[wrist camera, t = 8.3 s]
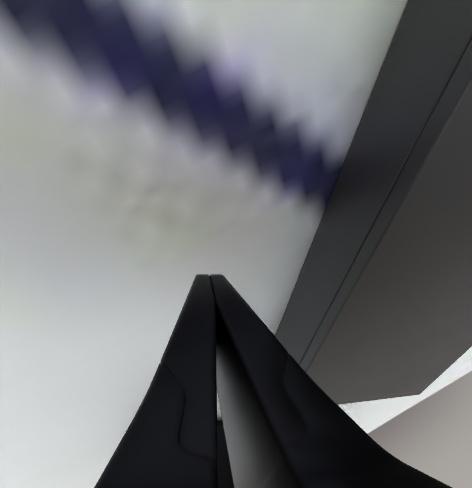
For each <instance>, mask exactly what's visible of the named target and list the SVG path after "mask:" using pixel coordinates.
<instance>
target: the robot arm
mask: <svg viewBox="0 0 472 488" xmlns="http://www.w3.org/2000/svg"><path fill="white" fill-rule="evenodd" d="M217 393H218V398H219V404H220V409H221V415H222V421H223V422H217ZM94 488H452V487H450V486H447V485H446V484H444V483H442V482H440V481H438V480H436V479H434V478H432V477H430V476H428V475H426V474H424V473H423V472H421V471H418V470H417V469H414V468H413V467H411V466H409V465H407V464H405V463H403V462H402V461H400V460H399V459H397V458H395V457H394V456H392V455H391V454H390V453H388V452H387V451H386V450H384V449H383V448H382V447H381V446H380V445H378V444H377V443H376V442H375V441H374V440H373V439H372V438H371V437H370V436H368V434H367V433H366V432H365V431H363V430H362V429H361V428H360V427H359V426H358V425H357V424H356V423H355V422H354V421H353V420H352V419H351V418H350V417H349V416H348V415H347V414H346V413H345V412H344V411H343V410H342V409H341V408H340V407H339V406H338V405H337V404H336V403H335V402H334V401H333V400H332V399H331V398H330V397H329V396H328V395H327V394H326V393H325V392H324V391H323V390H322V389H321V388H320V387H319V386H318V385H317V384H316V383H315V382H314V381H313V380H312V379H311V378H310V376H309V375H308V374H307V373H306V372H305V371H304V370H303V369H302V367H301V366H300V365H299V364H298V363H297V362H296V360H295V359H294V358H293V357H292V356H291V355H290V354H288V351H287V350H286V349H285V348H284V346H283V345H282V344H281V343H280V342H279V341H278V339H277V338H276V337H275V336H274V335H273V333H272V332H271V331H270V330H269V329H268V328H267V326H266V325H265V324H264V323H263V322H262V320H261V319H260V318H259V317H258V316H257V315H256V313H255V312H254V311H253V310H252V309H251V307H250V306H249V305H248V304H247V303H246V302H245V300H244V299H243V298H242V297H241V296H240V294H239V293H238V292H237V291H236V290H235V289H234V287H233V286H232V285H231V284H230V283H229V281H228V280H227V279H226V278H225V277H224V276H223V275H221V274H212V275H210V276H209V275H208V274H197V275H196V277H195V279H194V281H193V284H192V286H191V289H190V291H189V294H188V296H187V298H186V301H185V303H184V306H183V308H182V311H181V313H180V315H179V318H178V320H177V323H176V325H175V328H174V330H173V332H172V335H171V337H170V340H169V342H168V345H167V347H166V349H165V352H164V354H163V357H162V359H161V363H160V364H159V366H158V368H157V371H156V373H155V376H154V378H153V380H152V382H151V384H150V387H149V389H148V391H147V393H146V395H145V398H144V399H143V401H142V403H141V405H140V407H139V409H138V411H137V413H136V415H135V417H134V419H133V420H132V422H131V424H130V426H129V427H128V429H127V431H126V433H125V435H124V436H123V438H122V440H121V442H120V443H119V445H118V447H117V449H116V450H115V452H114V454H113V456H112V457H111V459H110V461H109V463H108V465H107V466H106V468H105V470H104V472H103V473H102V475H101V477H100V479H99V480H98V482H97V484H96V486H95V487H94Z"/></svg>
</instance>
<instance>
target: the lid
mask: <svg viewBox="0 0 472 488" xmlns="http://www.w3.org/2000/svg"><path fill="white" fill-rule="evenodd" d="M275 337H276V338H277V339H278V341H279V342H280V343H281V344H282V345H283V346H284V348H285V349H286V350H287V351H288V354H290V355H291V356H292V357H293V358H294V359H295V360H296V362H297V363H298V364H299V365H300V366H301V367H302V369H303V370H304V371H305V372H306V373H307V374H308V375H309V376H310V378H311V379H312V380H313V381H314V382H315V383H316V384H317V385H318V386H319V387H320V388H321V389H322V390H323V391H324V392H325V393H326V394H327V395H328V396H329V397H330V398H331V399H332V400H333V401H334V402H335V403H336V404H337V405H338V404H346V403H354V402H362V401H370V400H378V399H387V398H395V397H403V396H411V395H419V394H420V393H422V392H423V391H424V390H425V389H426V388H427V387H428V386H429V385H430V384H431V383H432V382H433V381H435V380H436V379H437V378H438V377H439V376H440V375H441V374H442V373H443V372H444V371H445V370H446V369H448V368H449V367H450V366H451V365H452V364H453V363H454V362H455V361H456V360H457V359H458V358H459V357H461V356H462V355H463V354H464V353H465V352H466V351H467V350H468V349H469V348H470V347H471V346H472V0H408V3H407V5H406V8H405V10H404V13H403V15H402V18H401V20H400V23H399V25H398V28H397V30H396V33H395V35H394V38H393V40H392V43H391V46H390V48H389V51H388V53H387V56H386V58H385V61H384V63H383V66H382V68H381V71H380V73H379V76H378V78H377V81H376V83H375V86H374V88H373V91H372V93H371V96H370V99H369V101H368V104H367V106H366V109H365V111H364V114H363V116H362V119H361V121H360V124H359V126H358V129H357V131H356V134H355V136H354V139H353V141H352V144H351V146H350V149H349V151H348V154H347V157H346V159H345V162H344V164H343V167H342V169H341V172H340V174H339V177H338V179H337V182H336V184H335V187H334V189H333V192H332V194H331V197H330V199H329V202H328V204H327V207H326V210H325V212H324V215H323V217H322V220H321V222H320V225H319V227H318V230H317V232H316V235H315V237H314V240H313V242H312V245H311V247H310V250H309V252H308V255H307V257H306V260H305V262H304V265H303V268H302V270H301V273H300V275H299V278H298V280H297V283H296V285H295V288H294V290H293V293H292V295H291V298H290V300H289V303H288V305H287V308H286V310H285V313H284V315H283V318H282V321H281V323H280V326H279V328H278V331H277V333H276V336H275Z"/></svg>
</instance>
